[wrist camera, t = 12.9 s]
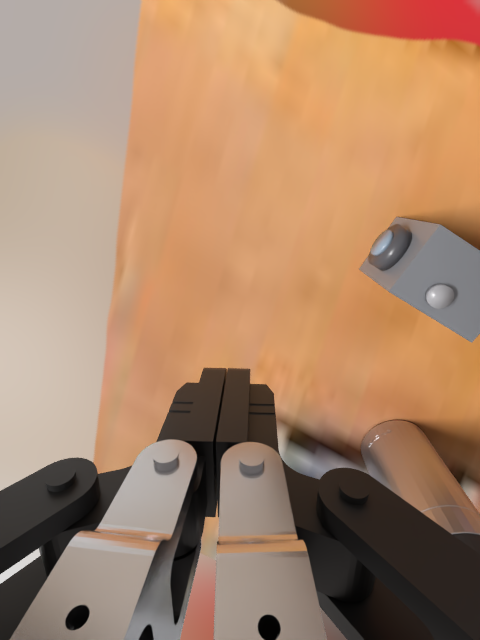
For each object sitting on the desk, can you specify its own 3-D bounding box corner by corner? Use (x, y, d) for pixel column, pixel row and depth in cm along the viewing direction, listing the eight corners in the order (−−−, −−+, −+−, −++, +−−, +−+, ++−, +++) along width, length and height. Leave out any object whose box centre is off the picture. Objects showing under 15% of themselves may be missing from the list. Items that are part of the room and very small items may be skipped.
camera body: (477, 254, 40) (551, 275, 30) (429, 312, 43) (482, 349, 33) (390, 197, 39) (438, 198, 29) (346, 261, 41) (375, 283, 31)
